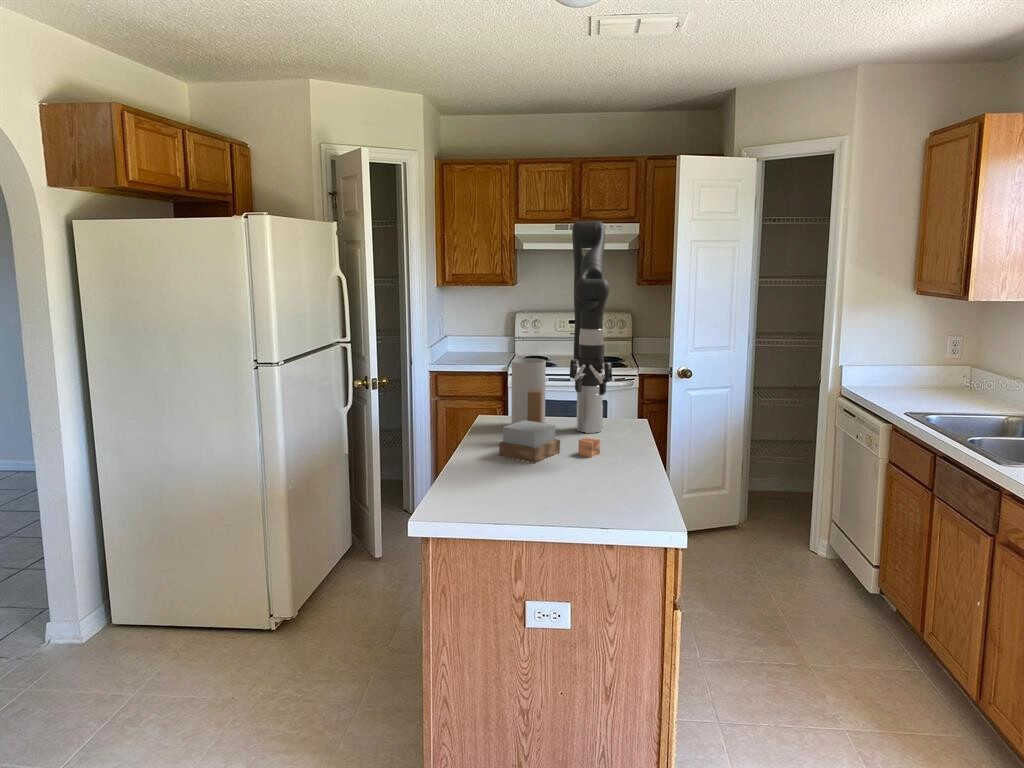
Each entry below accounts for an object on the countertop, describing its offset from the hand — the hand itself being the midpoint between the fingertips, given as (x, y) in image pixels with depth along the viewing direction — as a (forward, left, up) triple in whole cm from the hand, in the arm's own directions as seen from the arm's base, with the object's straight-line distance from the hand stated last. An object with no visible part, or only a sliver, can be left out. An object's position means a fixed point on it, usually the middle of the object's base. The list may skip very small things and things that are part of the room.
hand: (590, 393), depth 235 cm
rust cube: (0, 0, -20) cm, 20 cm away
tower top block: (+12, -15, -16) cm, 25 cm away
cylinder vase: (-19, -38, -20) cm, 47 cm away
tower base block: (+12, -15, -21) cm, 28 cm away
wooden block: (-3, -21, -20) cm, 29 cm away
